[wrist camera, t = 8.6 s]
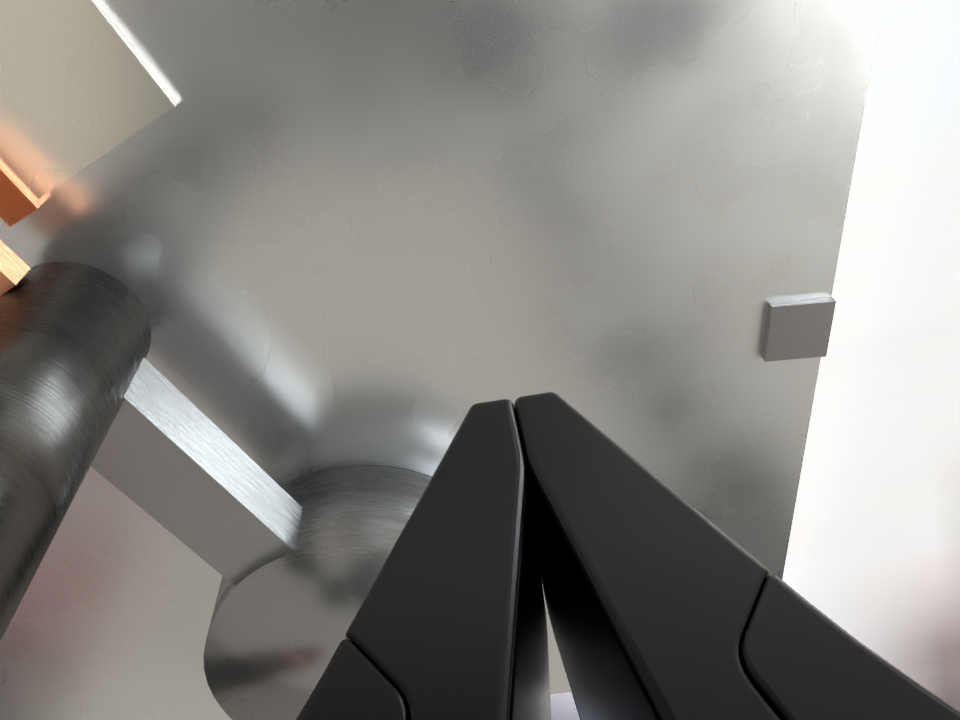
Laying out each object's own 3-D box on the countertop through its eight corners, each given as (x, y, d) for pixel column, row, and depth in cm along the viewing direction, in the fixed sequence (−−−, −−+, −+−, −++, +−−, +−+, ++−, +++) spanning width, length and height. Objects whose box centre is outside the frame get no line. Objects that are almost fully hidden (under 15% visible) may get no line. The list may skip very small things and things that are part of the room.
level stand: (746, 625, 23) (770, 681, 21) (35, 697, 22) (8, 760, 21) (863, -161, 13) (921, -162, 12) (-367, -70, 13) (-473, -58, 11)
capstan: (588, 628, 20) (666, 962, 14) (383, 730, 21) (374, 1072, 15) (71, 50, 13) (-234, 233, 7) (-192, 263, 14) (-640, 573, 8)
